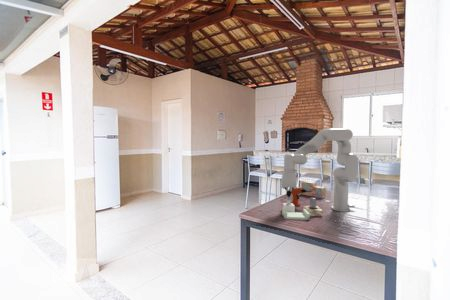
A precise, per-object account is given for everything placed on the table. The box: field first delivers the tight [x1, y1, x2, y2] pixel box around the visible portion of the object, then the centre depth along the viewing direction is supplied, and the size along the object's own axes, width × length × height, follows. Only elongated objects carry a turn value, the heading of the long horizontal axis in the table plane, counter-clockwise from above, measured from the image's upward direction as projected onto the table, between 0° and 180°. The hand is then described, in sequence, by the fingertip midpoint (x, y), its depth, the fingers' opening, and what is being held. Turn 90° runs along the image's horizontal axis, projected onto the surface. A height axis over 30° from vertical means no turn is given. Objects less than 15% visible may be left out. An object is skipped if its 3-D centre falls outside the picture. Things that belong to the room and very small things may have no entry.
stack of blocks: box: [300, 180, 327, 199], centre depth 211 cm, size 21×6×12 cm, turn 37°
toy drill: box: [291, 187, 312, 207], centre depth 177 cm, size 5×19×15 cm, turn 42°
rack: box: [281, 208, 311, 221], centre depth 153 cm, size 16×10×4 cm, turn 86°
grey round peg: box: [309, 197, 317, 209], centre depth 160 cm, size 4×4×11 cm
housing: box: [282, 202, 296, 212], centre depth 165 cm, size 7×7×5 cm
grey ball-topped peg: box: [285, 195, 293, 205], centre depth 165 cm, size 4×4×10 cm
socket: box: [303, 205, 324, 217], centre depth 160 cm, size 10×10×4 cm
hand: (288, 196), depth 165 cm, fingers closed
